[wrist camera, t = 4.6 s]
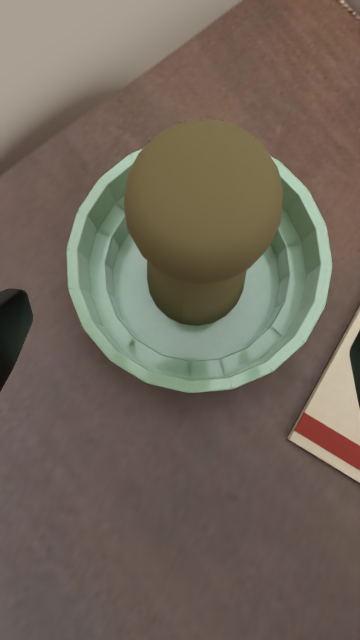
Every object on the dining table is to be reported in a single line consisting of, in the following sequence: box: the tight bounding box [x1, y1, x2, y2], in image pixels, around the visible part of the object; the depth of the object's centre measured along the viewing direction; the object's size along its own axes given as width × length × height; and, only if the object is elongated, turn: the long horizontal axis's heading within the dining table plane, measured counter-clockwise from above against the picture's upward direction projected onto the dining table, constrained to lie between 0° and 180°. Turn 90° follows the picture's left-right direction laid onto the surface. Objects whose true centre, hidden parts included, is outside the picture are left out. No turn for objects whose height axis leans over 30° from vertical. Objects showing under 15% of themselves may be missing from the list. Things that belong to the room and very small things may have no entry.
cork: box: [123, 118, 283, 326], centre depth 15 cm, size 6×6×11 cm
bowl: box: [66, 149, 332, 393], centre depth 18 cm, size 13×13×4 cm
